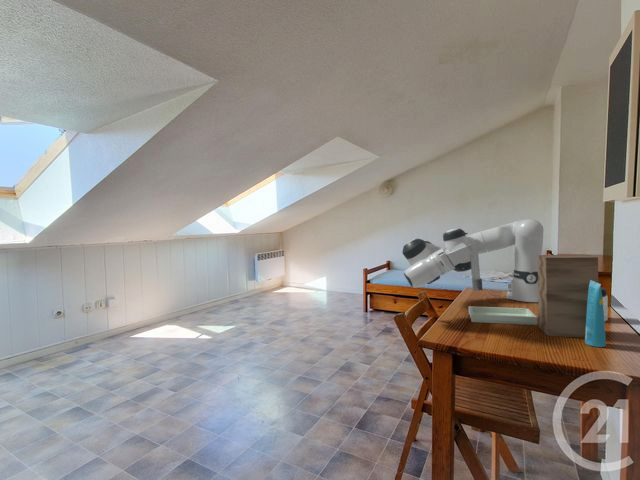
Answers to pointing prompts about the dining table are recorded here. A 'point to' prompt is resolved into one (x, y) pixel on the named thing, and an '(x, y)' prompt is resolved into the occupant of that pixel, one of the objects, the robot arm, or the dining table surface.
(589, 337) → the tube
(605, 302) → the jar
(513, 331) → the dining table surface
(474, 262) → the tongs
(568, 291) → the stand
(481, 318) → the tray
